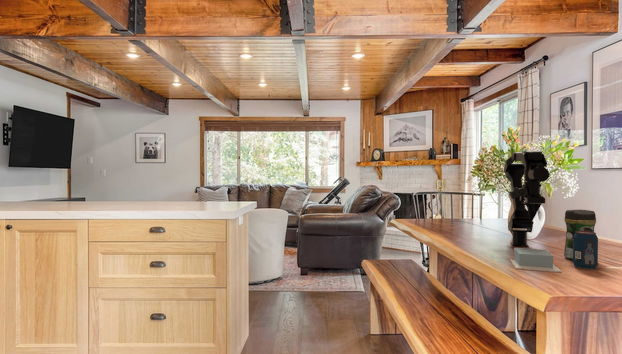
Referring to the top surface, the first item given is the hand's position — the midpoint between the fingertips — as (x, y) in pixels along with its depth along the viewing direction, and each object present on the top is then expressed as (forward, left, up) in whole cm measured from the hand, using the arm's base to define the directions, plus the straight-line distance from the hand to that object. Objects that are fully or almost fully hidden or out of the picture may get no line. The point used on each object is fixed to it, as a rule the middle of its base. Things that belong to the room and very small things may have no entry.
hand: (531, 219), depth 162 cm
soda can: (+25, +12, -13) cm, 31 cm away
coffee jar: (+10, +14, -13) cm, 22 cm away
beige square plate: (+29, -4, -13) cm, 32 cm away
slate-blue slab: (+20, -4, -11) cm, 23 cm away
